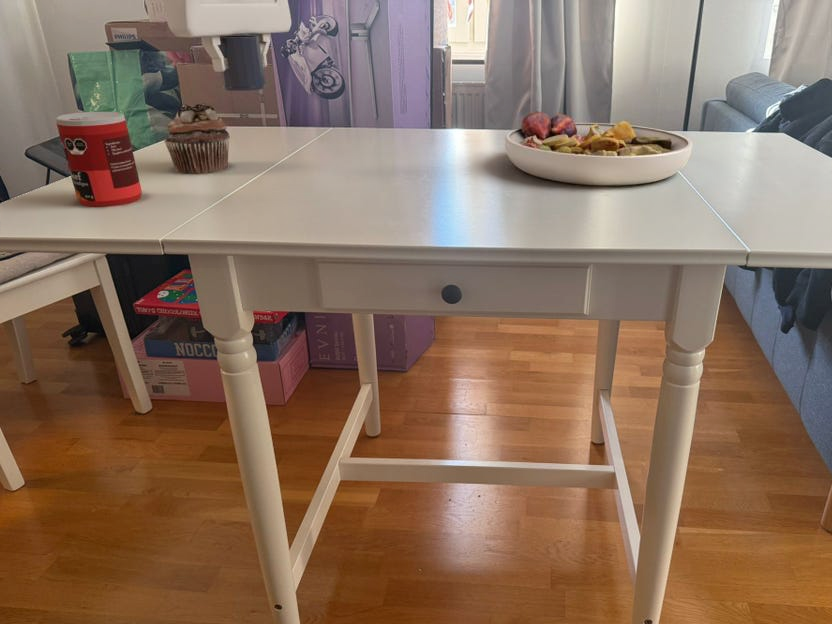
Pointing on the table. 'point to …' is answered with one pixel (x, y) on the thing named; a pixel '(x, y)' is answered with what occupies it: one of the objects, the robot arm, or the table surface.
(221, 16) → the robot arm
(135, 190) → the canned food
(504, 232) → the table surface
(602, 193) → the table surface
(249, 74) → the pot
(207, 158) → the cupcake
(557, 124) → the bowl
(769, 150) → the table surface
